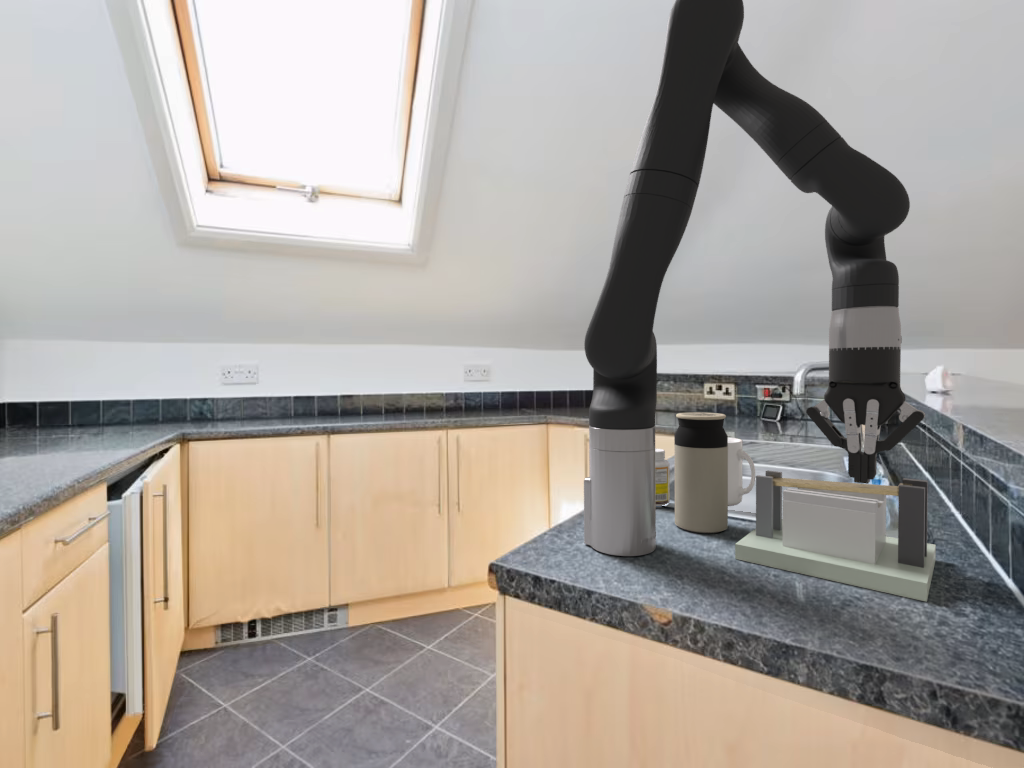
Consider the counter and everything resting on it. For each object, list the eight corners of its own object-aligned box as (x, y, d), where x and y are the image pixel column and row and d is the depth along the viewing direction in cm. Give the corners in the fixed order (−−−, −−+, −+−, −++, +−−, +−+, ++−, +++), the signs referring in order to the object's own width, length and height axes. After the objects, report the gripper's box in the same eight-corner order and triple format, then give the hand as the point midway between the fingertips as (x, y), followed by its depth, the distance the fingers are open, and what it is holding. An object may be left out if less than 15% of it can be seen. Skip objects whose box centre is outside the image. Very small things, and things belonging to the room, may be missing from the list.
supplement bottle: (646, 499, 102) (646, 446, 101) (674, 503, 98) (674, 449, 98) (633, 505, 97) (633, 450, 97) (662, 510, 94) (661, 453, 94)
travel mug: (713, 538, 78) (713, 417, 78) (665, 526, 84) (664, 414, 83) (736, 526, 84) (736, 413, 83) (689, 516, 89) (689, 411, 89)
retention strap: (761, 486, 73) (761, 477, 73) (768, 483, 76) (767, 474, 76) (910, 499, 62) (909, 488, 62) (912, 494, 65) (912, 484, 65)
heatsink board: (735, 558, 70) (735, 475, 69) (770, 530, 82) (770, 458, 81) (926, 601, 56) (928, 498, 56) (935, 559, 68) (936, 474, 68)
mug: (696, 492, 107) (696, 435, 106) (761, 500, 100) (761, 439, 100) (683, 502, 99) (683, 441, 98) (752, 511, 92) (752, 445, 92)
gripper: (797, 346, 68) (797, 480, 68) (928, 342, 59) (926, 495, 60) (811, 348, 73) (810, 471, 74) (932, 344, 65) (930, 484, 65)
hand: (862, 481), depth 67 cm, fingers closed
